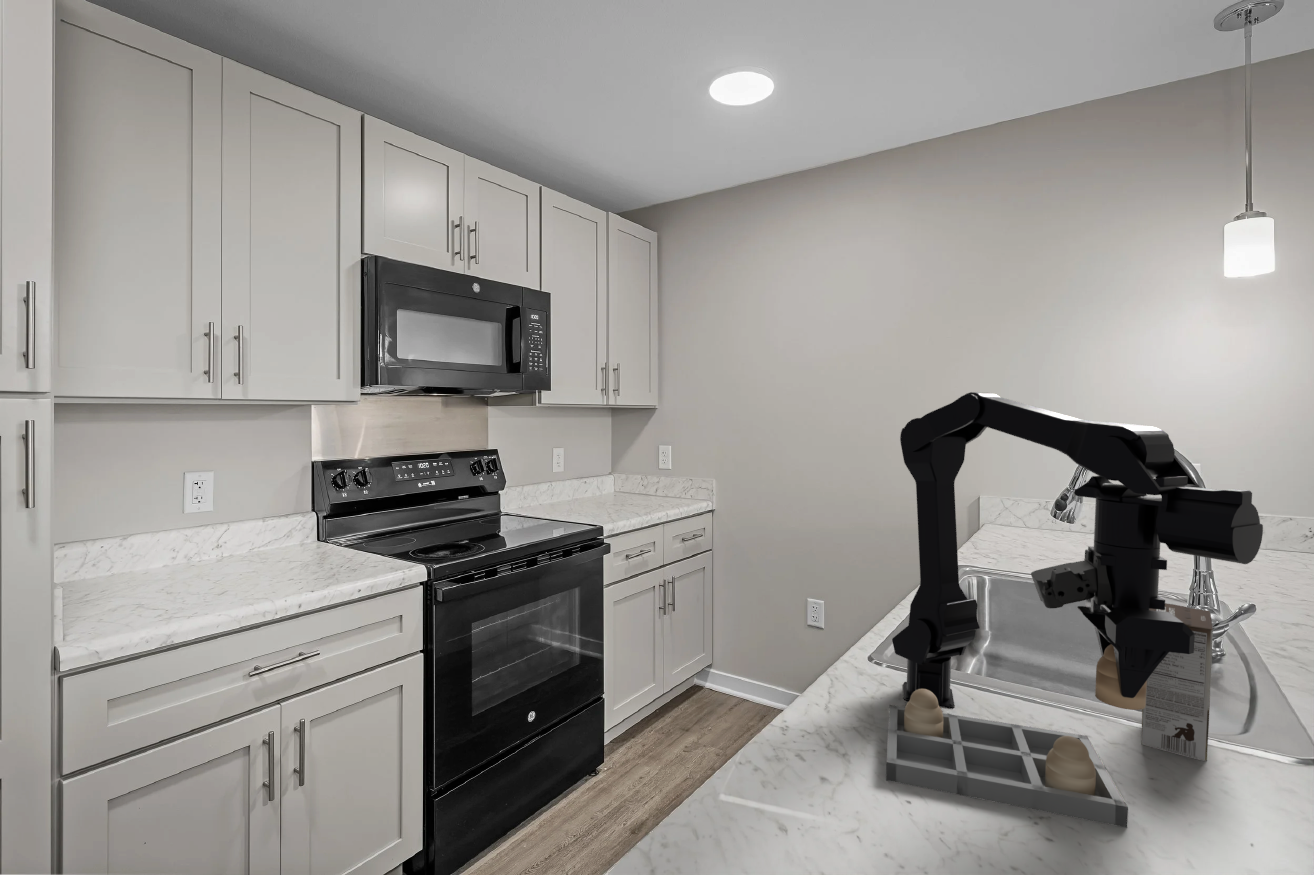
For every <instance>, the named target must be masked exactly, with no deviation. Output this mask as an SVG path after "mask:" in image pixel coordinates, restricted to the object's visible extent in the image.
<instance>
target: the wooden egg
mask: <svg viewBox="0 0 1314 875" xmlns="http://www.w3.org/2000/svg"><path fill="white" fill-rule="evenodd" d="M1095 670H1096V671H1095V690H1094V691H1095V692H1094V696H1095V698H1096V699H1097V700H1099V702H1100V701H1101V702H1102V703H1104V704H1107V705H1109V706H1112V707H1115V708H1119V709H1124V710H1128V711H1129V710H1132V711H1139V710H1141V711H1142V709H1144V708H1145V706H1146V685H1147V681H1146V682H1145V684H1144V685H1143V686H1142V688H1141V689H1140V690H1139V692H1138V693H1137V695H1136V696H1135V697H1134V698H1127V697H1123V696H1122V695H1121V693H1120V687H1119V682H1118V674H1117V667H1116V660H1115V653H1114V647H1113V645H1112V644H1110V645H1109V646H1108V647H1107V648H1106V649H1105V651H1104V655H1103V656H1102V655H1101V657H1100V658H1099V659H1098V661H1097V664H1096V669H1095Z"/></svg>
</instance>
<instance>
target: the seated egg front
mask: <svg viewBox="0 0 1314 875" xmlns="http://www.w3.org/2000/svg"><path fill="white" fill-rule="evenodd" d="M1095 783H1096V770H1095V766H1094V764H1093V762H1092V760H1091V759H1090V757H1089V752H1088V749H1087V747H1086V746H1085V745H1084V744H1083V742H1081V741H1080V740H1079V739H1077V738H1075V737H1072V736H1062V737H1060V738H1058V739H1057V740H1056V741H1055V743H1054V745H1053V748H1052V749H1051V750H1050V751H1049V753H1048V755H1047V757H1046V774H1045V787H1049V788H1055V789H1060V790H1066V791H1071V792H1077V793H1082V794H1087V795H1093V796H1095Z"/></svg>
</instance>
